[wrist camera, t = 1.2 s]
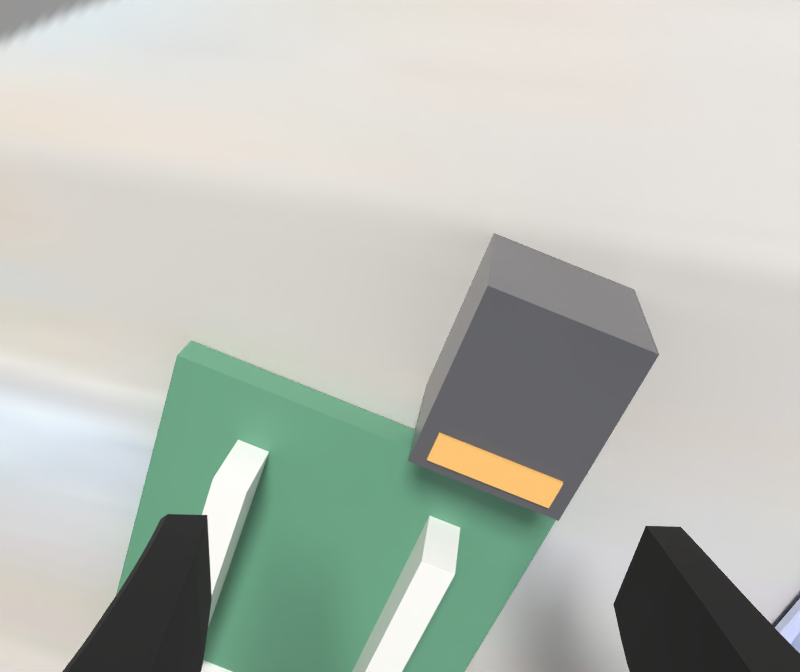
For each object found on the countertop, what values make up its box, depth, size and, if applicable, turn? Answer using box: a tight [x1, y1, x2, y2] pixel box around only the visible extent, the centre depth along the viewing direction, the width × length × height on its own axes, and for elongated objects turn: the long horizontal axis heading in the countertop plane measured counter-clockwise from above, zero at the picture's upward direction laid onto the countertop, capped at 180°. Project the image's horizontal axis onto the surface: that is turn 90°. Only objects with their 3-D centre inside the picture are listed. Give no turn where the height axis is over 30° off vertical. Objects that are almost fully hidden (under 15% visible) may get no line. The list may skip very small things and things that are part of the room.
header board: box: [116, 341, 556, 672], centre depth 23 cm, size 12×14×4 cm
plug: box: [408, 233, 659, 521], centre depth 19 cm, size 4×5×4 cm
